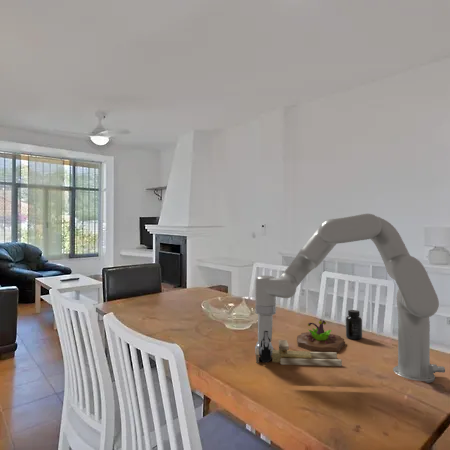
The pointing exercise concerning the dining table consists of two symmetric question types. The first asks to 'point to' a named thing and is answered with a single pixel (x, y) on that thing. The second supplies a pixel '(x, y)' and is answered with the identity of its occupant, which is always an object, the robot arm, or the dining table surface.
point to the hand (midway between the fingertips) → (265, 355)
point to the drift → (289, 354)
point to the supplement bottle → (353, 325)
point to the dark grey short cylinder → (260, 355)
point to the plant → (320, 340)
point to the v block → (260, 346)
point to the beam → (330, 361)
